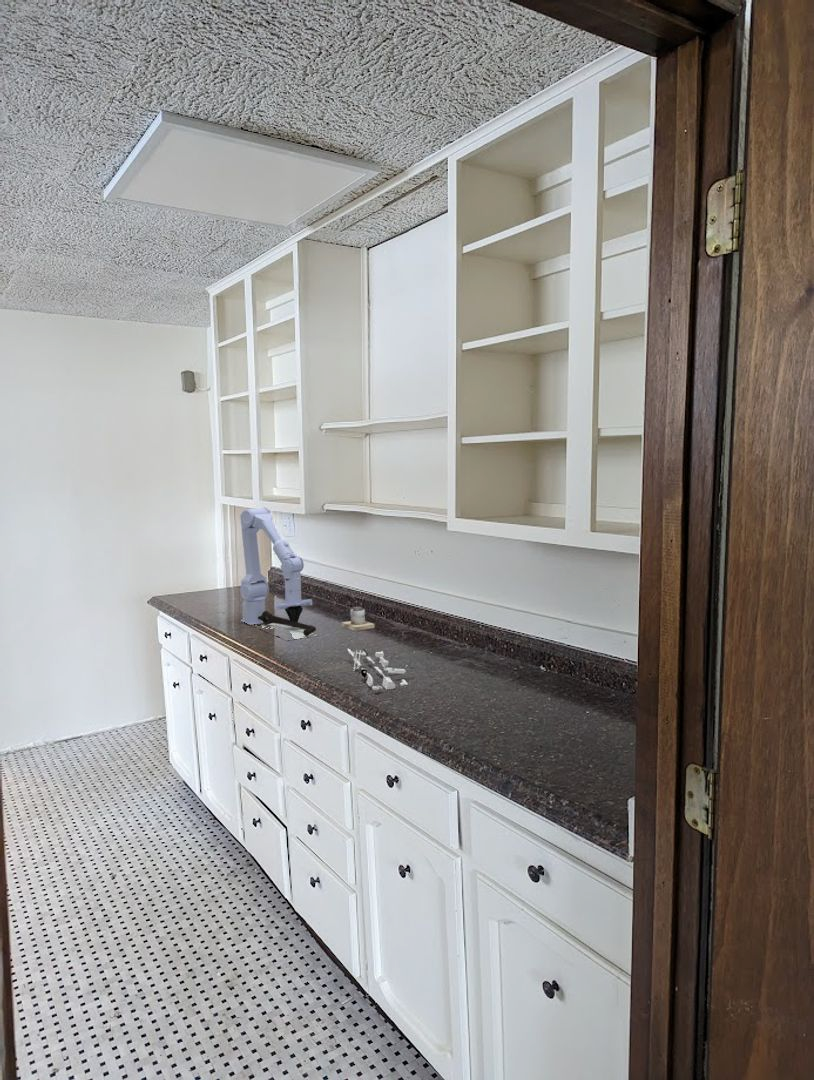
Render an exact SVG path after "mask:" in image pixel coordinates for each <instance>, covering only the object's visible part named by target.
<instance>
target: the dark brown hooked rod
mask: <svg viewBox="0 0 814 1080" xmlns="http://www.w3.org/2000/svg"><path fill="white" fill-rule="evenodd" d="M258 619H259V620H262V621H263V623H262V624H263V625H267V624H271V623H276V624H282V625H287V626H293V627H297V628H300V629H303V630H304V631H303V634H304V635H305V636H308V635H309V634H311V633H313V634H314V633H315V632H316V630H317V628H316V627H315V626H313V625H310V624H307V623H305V624H304V623H302V622H299V621H298V622H295V621H291V620H290V619H287V618H283V617H280V616H277V615H273V613H270V612H269V611H267V610H265V611H264V612H263V613H262V615H261V616H259V617H258Z"/></svg>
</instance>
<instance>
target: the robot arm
mask: <svg viewBox="0 0 814 1080" xmlns="http://www.w3.org/2000/svg"><path fill="white" fill-rule="evenodd" d="M239 516H240V517H239V518H240V525H241V537H242V538H241V539H242V547H243V556H244V566H245V574H246V575H245V576H244V577H243V578H242V580H240V584H241V585H240V589H239V593H240V596H241V597H242V598H241V599H243V602H242V606H241V607H242V608H241V609H242V619H240V622H242V623H244V622H245V623H244V624H246V623H247V625H250V626H255V625H263V624H264V623H263V621H262V620H259V619H258V617H259V616H261V615H262V613H263V612H264V611H266V603H265V602H266V601H265V599H267V596H268V595H269V592H270V587H269V584H268V582H267V577H266V576H265V575H264V574H262V573H261V564H260V555H259V554H260V553H259V546H258V545H259V542H258V535H257V533H258V532H259V530H262V531H263V532H264V533H265V535H266V537H267V538H268V539H269V541H270V542H271V543H272V544H273V547H272V550H273V552H274V553H275V555H276V557H277V558H278V560H279V562H280V569H281V572H282V575H283V578H284V594H285V595H284V597H285V598H284V599H285V601H283V602H279V603H275V604H274V605H273V608H274V610H275V611H279V610H284V611H285V612H286V614H287V616H288V618H289V619H288V620H291V621H295V622H298V623H299V619H300V616H301V614H302V612H303V610H304V608H303V607H304V606H313V599H311V598H309V599H302V582H301V581H302V578H301V575H302V573H301V572H302V571H303V570H304V566H305V564H304V561H303V558H302V557H301V556H299V555H297V554H295V553H294V551H293V549H292V548H291V546H290V545H289V542H288V541H287V540H284V539H282V538H281V536H280V534H279V532H278V530H277V528H276V526H275V525H274V523H273V514H272V513H271V512H270V509H269V508H268V507H258V508H256V507H255V508H245V509H244V510H243V511H242V512H241V514H240V515H239ZM254 624H255V625H254ZM292 627H293V626H292Z"/></svg>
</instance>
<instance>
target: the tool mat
mask: <svg viewBox="0 0 814 1080" xmlns="http://www.w3.org/2000/svg"><path fill="white" fill-rule="evenodd" d="M260 625H261V626H262V628H264V627H266V626H265V625H264V624H260ZM275 625H277V626H281V627H280V628H282V627H286V628H284V629H283V630H285V629H286V630H289V631H290V633H291V634H292V637H293V638H294V639H297V640H300V638H302V639H306V638H307V637H308V638H313V637H317V636H319V635H318V634H316V633H314V632H313V633H311V634H309V635H308V636H305V635H304V634H303V631H304V630H305V629H302V628H297V627H292V626H287V625H282V624H281V625H279V624H276V623H271V624H267V626H270V627H271V628H270V629H273V628H275V627H277V626H275ZM268 628H269V627H268ZM268 628H266V629H268ZM277 628H278V627H277ZM277 628H276V629H277Z"/></svg>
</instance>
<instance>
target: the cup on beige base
mask: <svg viewBox="0 0 814 1080" xmlns="http://www.w3.org/2000/svg"><path fill="white" fill-rule="evenodd" d="M365 611H366V610H365V608H363V607H362V606H353V607H352V608H351V609H350V620H349V621H348V620H347V621H342V622H341V627H343V628H345V629H349V630H350V631H354V632H359V631H365V630H370V629H375V623H373V622H370V621H366V616H365V615H366V614H365Z"/></svg>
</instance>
